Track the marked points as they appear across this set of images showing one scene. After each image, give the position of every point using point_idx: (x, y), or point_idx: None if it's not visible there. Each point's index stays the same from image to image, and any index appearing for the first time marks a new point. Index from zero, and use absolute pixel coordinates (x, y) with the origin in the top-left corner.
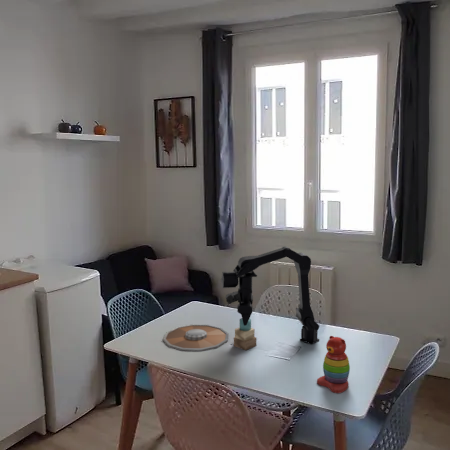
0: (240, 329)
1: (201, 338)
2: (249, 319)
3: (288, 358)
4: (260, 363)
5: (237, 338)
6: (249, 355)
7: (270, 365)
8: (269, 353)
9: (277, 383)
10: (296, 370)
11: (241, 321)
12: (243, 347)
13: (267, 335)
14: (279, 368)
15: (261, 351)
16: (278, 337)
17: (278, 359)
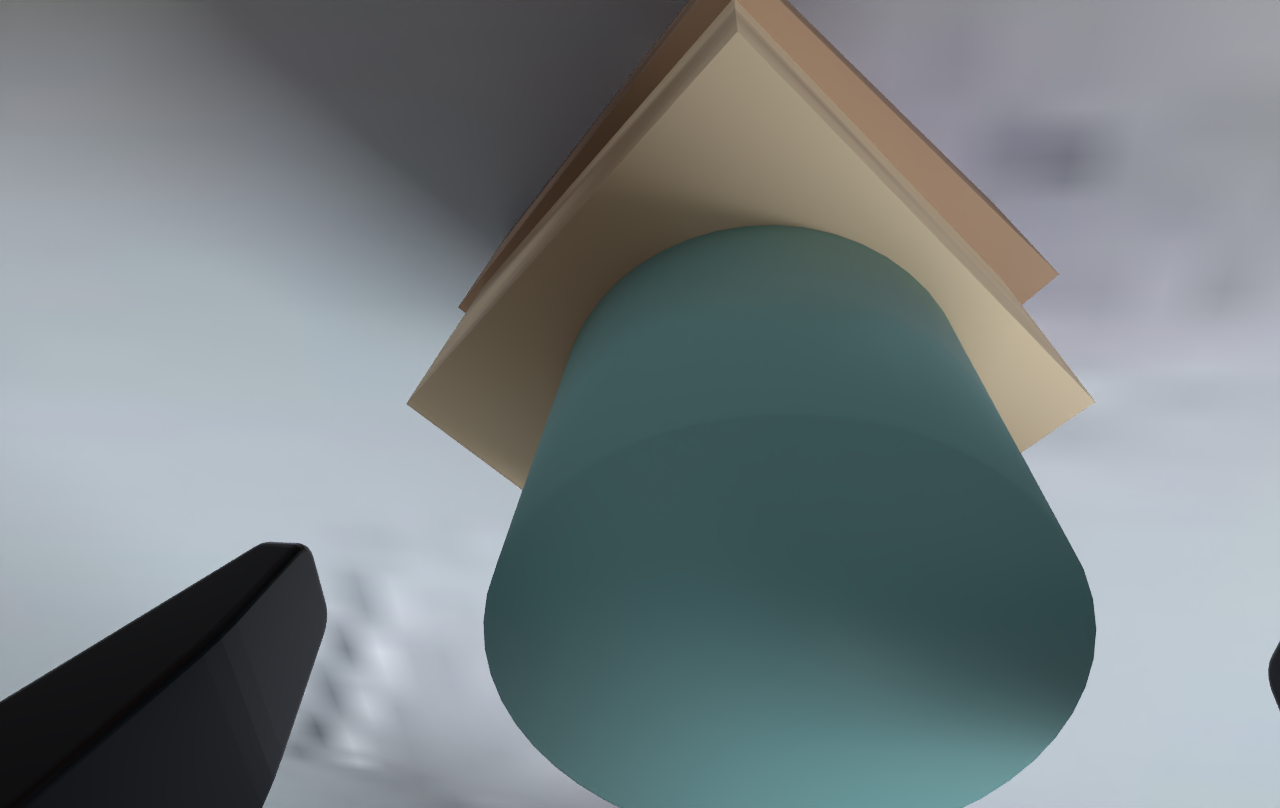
0: (635, 270)
1: None
2: (832, 804)
3: (347, 754)
4: (65, 456)
5: (659, 85)
6: (296, 303)
7: (63, 568)
8: (451, 585)
9: None
10: None
11: (538, 502)
12: (532, 203)
13: (1216, 611)
14: (28, 648)
15: (505, 489)
16: (1080, 735)
17: None
